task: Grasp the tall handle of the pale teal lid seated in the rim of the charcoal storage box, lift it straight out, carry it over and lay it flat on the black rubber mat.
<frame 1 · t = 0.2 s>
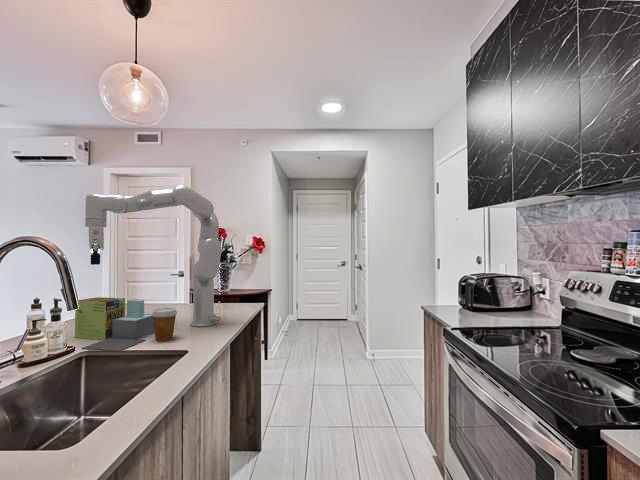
hand: (95, 263, 139), 31 cm above the worktop, tool pointing down, fingers open, 9 cm apart
lid: (135, 318, 141), point 7 cm above the worktop, touching box
protein box: (100, 336, 140), on the worktop
disposable coffee cup: (164, 339, 135), on the worktop
mat: (115, 344, 128), on the worktop
box: (135, 335, 141), on the worktop
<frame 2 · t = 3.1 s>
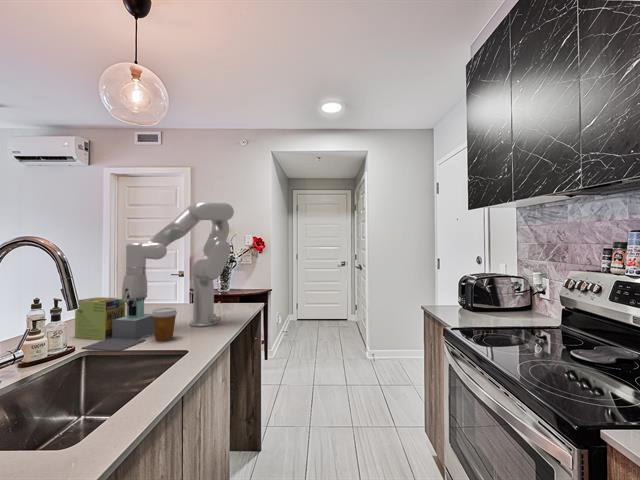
hand: (135, 314, 141), 9 cm above the worktop, tool pointing down, fingers closed on lid, 2 cm apart
lid: (135, 318, 141), point 7 cm above the worktop, touching box, gripper
everything else where it was.
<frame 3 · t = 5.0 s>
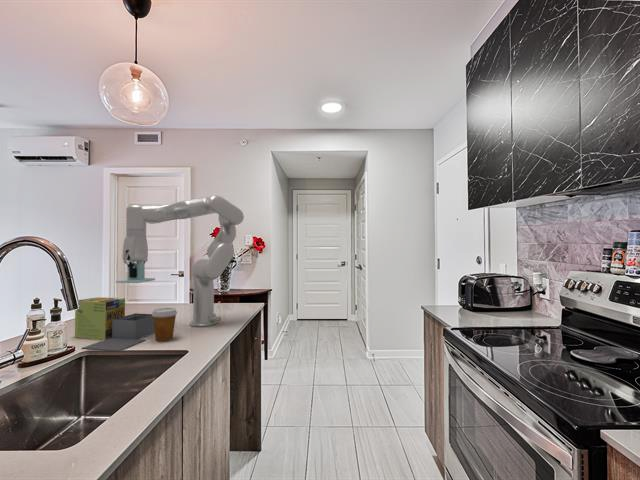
hand: (136, 276, 141), 25 cm above the worktop, tool pointing down, fingers closed on lid, 2 cm apart
lid: (136, 281, 141), point 23 cm above the worktop, touching gripper
everything else where it was.
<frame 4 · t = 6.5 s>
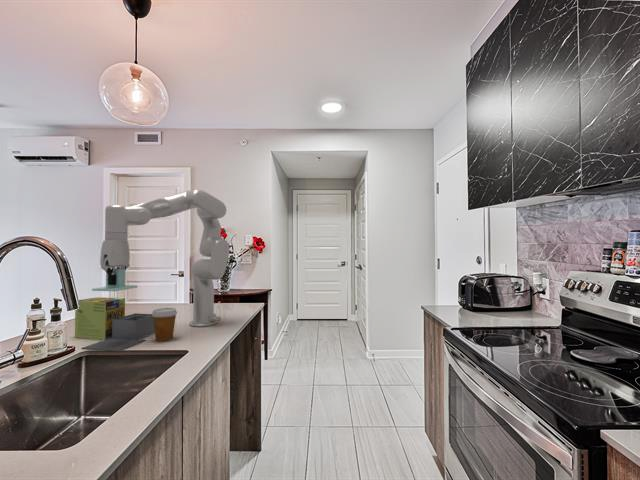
hand: (115, 284, 128), 23 cm above the worktop, tool pointing down, fingers closed on lid, 2 cm apart
lid: (115, 289, 128), point 22 cm above the worktop, touching gripper
everything else where it was.
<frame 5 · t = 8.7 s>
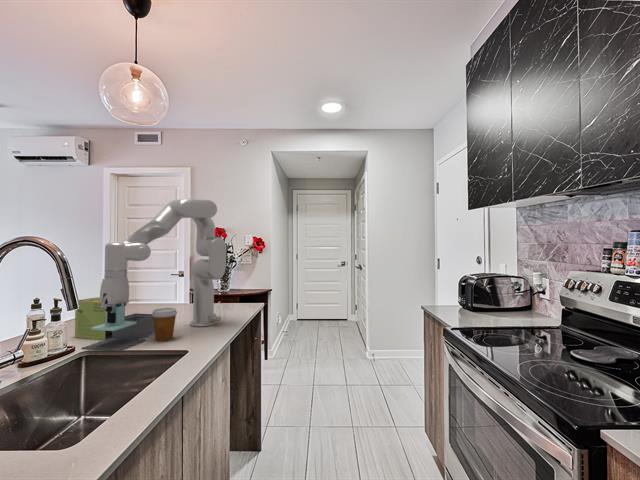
hand: (114, 321, 128), 9 cm above the worktop, tool pointing down, fingers closed on lid, 2 cm apart
lid: (114, 326, 128), point 7 cm above the worktop, touching gripper
everything else where it was.
when the fingers open (4 cm above the worktop, at t = 10.1 s): lid drops 2 cm, resting on mat.
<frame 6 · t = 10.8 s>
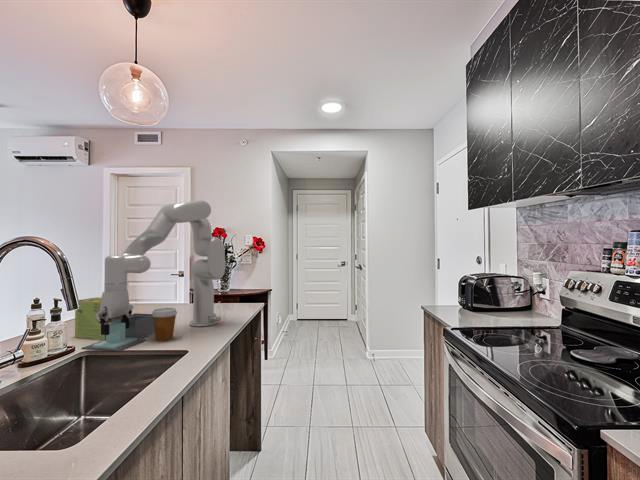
hand: (115, 331, 128), 5 cm above the worktop, tool pointing down, fingers open, 9 cm apart
lid: (115, 343, 128), resting on mat
everything else where it was.
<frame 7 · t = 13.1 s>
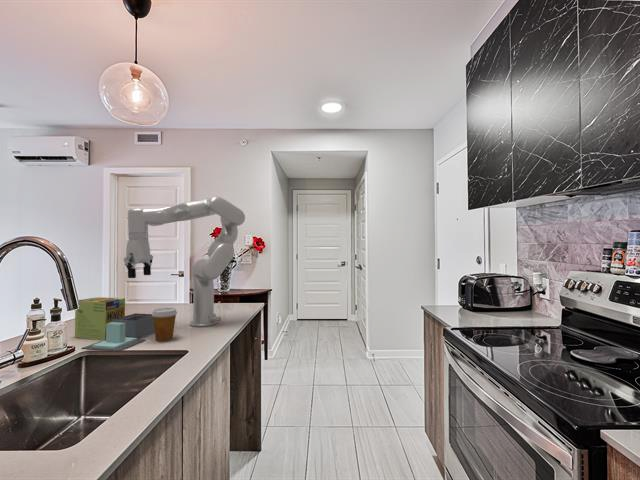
hand: (139, 276, 143), 25 cm above the worktop, tool pointing down, fingers open, 9 cm apart
nothing on the worktop moved.
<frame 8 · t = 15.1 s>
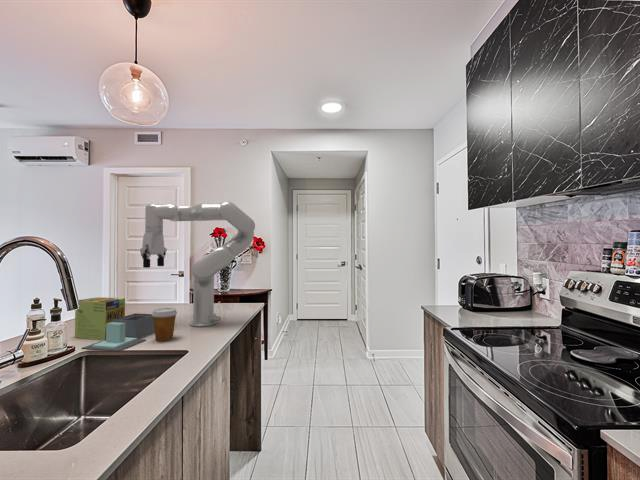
hand: (153, 266, 155), 28 cm above the worktop, tool pointing down, fingers open, 9 cm apart
nothing on the worktop moved.
at the end: lid inside the target area on the mat (0.1 cm from its centre), point 0.4 cm above the mat's base; lid tilted 0°; the gripper is holding nothing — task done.
